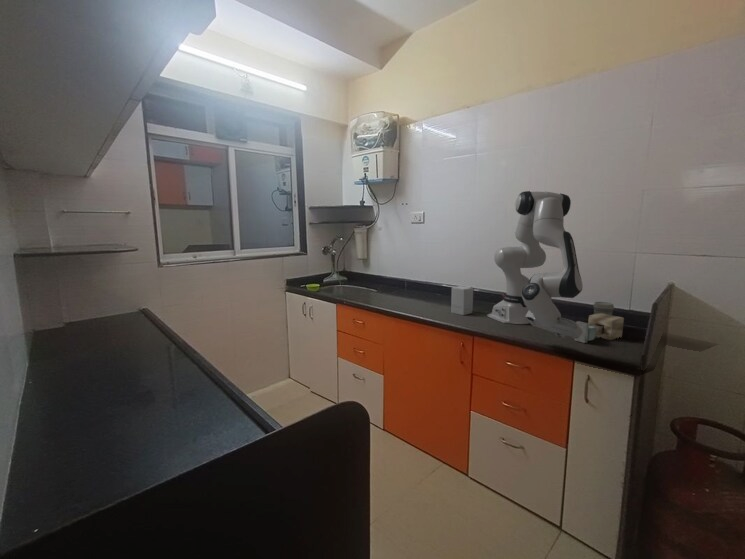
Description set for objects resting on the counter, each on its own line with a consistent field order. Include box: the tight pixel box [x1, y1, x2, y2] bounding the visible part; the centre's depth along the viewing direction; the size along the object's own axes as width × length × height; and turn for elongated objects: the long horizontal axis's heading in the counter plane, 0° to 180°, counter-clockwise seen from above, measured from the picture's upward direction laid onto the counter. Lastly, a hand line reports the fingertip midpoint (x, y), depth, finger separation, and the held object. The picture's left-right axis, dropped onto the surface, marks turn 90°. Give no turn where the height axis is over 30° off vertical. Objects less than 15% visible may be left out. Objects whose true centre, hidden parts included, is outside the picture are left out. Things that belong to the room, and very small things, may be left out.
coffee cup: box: [592, 301, 615, 315], centre depth 166 cm, size 8×8×12 cm
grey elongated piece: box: [573, 320, 604, 344], centre depth 149 cm, size 4×18×8 cm, turn 118°
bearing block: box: [587, 313, 625, 341], centre depth 154 cm, size 10×9×9 cm
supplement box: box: [450, 285, 474, 316], centre depth 196 cm, size 9×9×15 cm
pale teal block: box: [588, 326, 596, 341], centre depth 147 cm, size 5×4×5 cm, turn 28°
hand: (561, 335), depth 139 cm, fingers closed
